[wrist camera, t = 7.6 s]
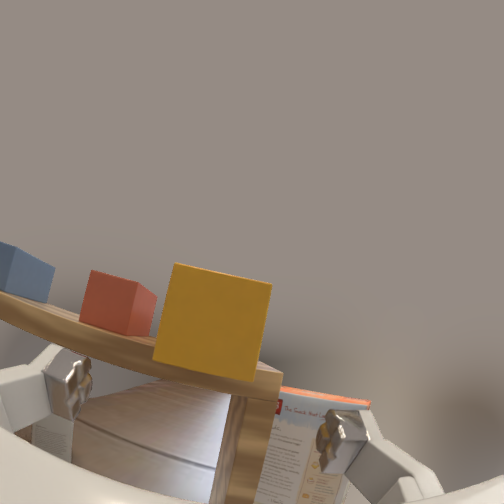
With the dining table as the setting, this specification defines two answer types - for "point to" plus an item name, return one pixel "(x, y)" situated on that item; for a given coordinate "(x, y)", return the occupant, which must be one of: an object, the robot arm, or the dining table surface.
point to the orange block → (212, 323)
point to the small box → (54, 436)
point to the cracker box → (301, 451)
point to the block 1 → (24, 274)
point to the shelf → (140, 360)
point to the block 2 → (118, 305)
